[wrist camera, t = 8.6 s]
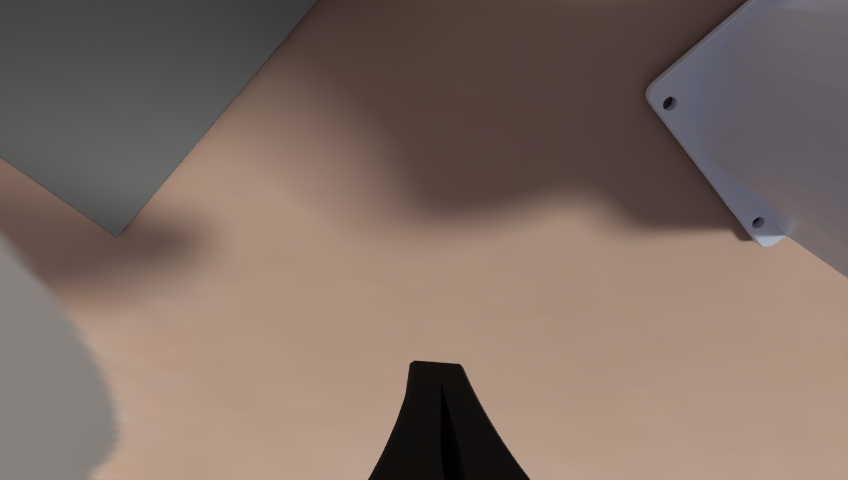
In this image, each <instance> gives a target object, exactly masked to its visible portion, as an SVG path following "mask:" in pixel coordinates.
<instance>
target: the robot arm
mask: <svg viewBox="0 0 848 480" xmlns="http://www.w3.org/2000/svg"><path fill="white" fill-rule="evenodd" d="M668 97H672V99H673V100H672V103H671V105H670V106H669V107H667V108H663V102H664V101H665V99H666V98H668ZM646 99H647V101H648V103H649V104H650V105H651V107H652V108H653V109H654V111H655V112H656V113H657V115H658V116H659V117H660V118H661V120H662V121H663V122H664V124H665V125H666V126H667V128H668V129H669V130H670V132H671V133H672V134H673V135H674V137H675V138H676V139H677V141H678V142H679V143H680V145H681V146H682V147H683V149H684V150H685V151H686V152H687V154H688V155H689V156H690V158H691V159H692V160H693V162H694V163H695V164H696V166H697V167H698V168H699V169H700V171H701V172H702V173H703V175H704V176H705V177H706V179H707V180H708V181H709V183H710V184H711V185H712V187H713V188H714V189H715V190H716V192H717V193H718V194H719V196H720V197H721V198H722V200H723V201H724V202H725V204H726V205H727V206H728V207H729V209H730V210H731V211H732V213H733V214H734V215H735V217H736V218H737V219H738V221H739V222H740V223H741V224H742V226H743V227H744V228H745V230H746V231H747V232H748V234H749V235H750V236H751V238H752V239H753V240H754V241H755V242H756V243H757V244H759V245H760V246H761V247H770V246H772V245H774V244H775V243H777V242H778V241H780V240H781V239H783V238H784V237H786V236H788V237H790V238H791V239H792V240H794V241H795V242H797V243H798V244H800V245H801V246H802V247H804V248H805V249H807V250H808V251H810V252H811V253H813V254H814V255H815V256H817V257H818V258H820V259H821V260H823V261H824V262H825V263H827V264H828V265H830V266H831V267H833V268H834V269H835V270H837V271H838V272H840V273H841V274H843V275H844V276H845V277H847V278H848V0H748V1H746V2H745V3H744V4H743V5H742V6H741V7H739V8H738V9H737V10H736V11H735V12H734V13H732V14H731V15H730V16H729V17H728V18H727V19H725V20H724V21H723V22H722V23H721V24H720V25H718V26H717V27H716V28H715V29H714V30H712V31H711V32H710V33H709V34H708V35H707V36H705V37H704V38H703V39H702V40H701V41H700V42H698V43H697V44H696V45H695V46H694V47H693V48H691V49H690V50H689V51H688V52H687V53H685V54H684V55H683V56H682V57H681V58H680V59H678V60H677V61H676V62H675V63H674V64H673V65H671V66H670V67H669V68H668V69H667V70H666V71H664V72H663V73H662V74H661V75H660V76H659V77H657V78H656V79H655V80H654V81H653V82H651V84H650V85H649V86H648V88H647V90H646ZM758 217H759V220H758V221H757V222H756V223H754V224H752V223H753V221H754V220H755V219H756V218H758ZM368 480H530V479H529V477H528V476H527V475H526V473H525V472H524V471H523V469H522V468H521V467H520V465H519V464H518V463H517V461H516V460H515V458H514V457H513V456H512V454H511V453H510V451H509V450H508V448H507V447H506V445H505V444H504V442H503V441H502V439H501V438H500V436H499V434H498V433H497V431H496V430H495V428H494V426H493V425H492V423H491V421H490V420H489V418H488V416H487V414H486V413H485V411H484V409H483V407H482V406H481V404H480V402H479V400H478V398H477V396H476V394H475V392H474V390H473V388H472V386H471V384H470V382H469V380H468V378H467V376H466V373H465V371H464V369H463V367H462V366H461V365H460V364H453V363H440V362H427V361H413V362H412V363H410V366H409V373H408V380H407V387H406V394H405V398H404V401H403V404H402V407H401V410H400V413H399V416H398V419H397V421H396V424H395V426H394V428H393V431H392V433H391V435H390V438H389V440H388V442H387V444H386V447H385V449H384V451H383V453H382V455H381V457H380V459H379V461H378V463H377V464H376V466H375V468H374V470H373V472H372V474H371V476H370V477H369V479H368Z"/></svg>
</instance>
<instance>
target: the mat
mask: <svg viewBox="0 0 848 480" xmlns="http://www.w3.org/2000/svg"><path fill="white" fill-rule="evenodd" d="M317 1H318V0H0V157H1V158H2V159H4V160H5V161H7V162H8V163H9V164H11V165H12V166H14V167H15V168H17V169H18V170H20V171H21V172H23V173H24V174H25V175H27V176H28V177H30V178H31V179H33V180H34V181H36V182H37V183H38V184H40V185H41V186H43V187H44V188H46V189H47V190H49V191H50V192H52V193H53V194H54V195H56V196H57V197H59V198H60V199H62V200H63V201H65V202H66V203H67V204H69V205H70V206H72V207H73V208H75V209H76V210H78V211H79V212H81V213H82V214H83V215H85V216H86V217H88V218H89V219H91V220H92V221H94V222H95V223H97V224H98V225H99V226H101V227H102V228H104V229H105V230H107V231H108V232H110V233H111V234H112V235H114V236H115V237H118V236H119V235H120V234H121V233H122V231H123V230H124V229H125V228H126V227H127V225H128V224H129V223H130V222H131V221H132V220H133V218H134V217H135V216H136V215H137V214H138V212H139V211H140V210H141V209H142V208H143V207H144V205H145V204H146V203H147V202H148V201H149V199H150V198H151V197H152V196H153V195H154V194H155V192H156V191H157V190H158V189H159V188H160V186H161V185H162V184H163V183H164V182H165V181H166V179H167V178H168V177H169V176H170V175H171V173H172V172H173V171H174V170H175V169H176V167H177V166H178V165H179V164H180V163H181V162H182V160H183V159H184V158H185V157H186V156H187V154H188V153H189V152H190V151H191V150H192V149H193V147H194V146H195V145H196V144H197V143H198V141H199V140H200V139H201V138H202V137H203V136H204V134H205V133H206V132H207V131H208V130H209V128H210V127H211V126H212V125H213V124H214V123H215V121H216V120H217V119H218V118H219V117H220V115H221V114H222V113H223V112H224V111H225V110H226V108H227V107H228V106H229V105H230V104H231V102H232V101H233V100H234V99H235V98H236V96H237V95H238V94H239V93H240V92H241V91H242V89H243V88H244V87H245V86H246V85H247V83H248V82H249V81H250V80H251V79H252V78H253V76H254V75H255V74H256V73H257V72H258V70H259V69H260V68H261V67H262V66H263V65H264V63H265V62H266V61H267V60H268V59H269V57H270V56H271V55H272V54H273V53H274V52H275V50H276V49H277V48H278V47H279V46H280V44H281V43H282V42H283V41H284V40H285V38H286V37H287V36H288V35H289V34H290V33H291V31H292V30H293V29H294V28H295V27H296V25H297V24H298V23H299V22H300V21H301V20H302V18H303V17H304V16H305V15H306V14H307V12H308V11H309V10H310V9H311V8H312V7H313V5H314V4H315V3H316V2H317Z"/></svg>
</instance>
